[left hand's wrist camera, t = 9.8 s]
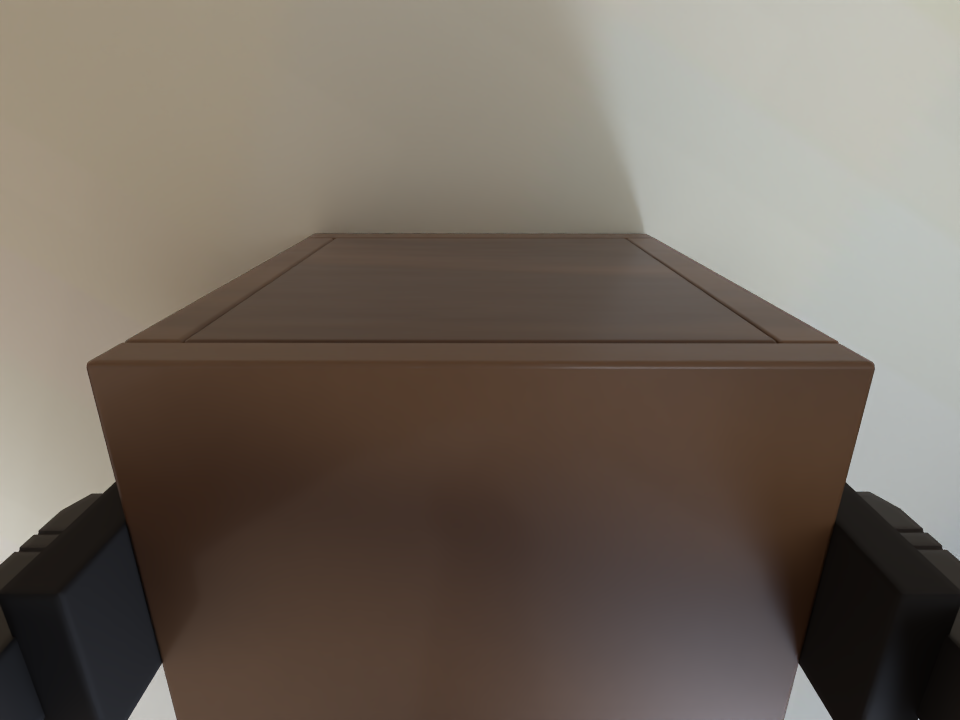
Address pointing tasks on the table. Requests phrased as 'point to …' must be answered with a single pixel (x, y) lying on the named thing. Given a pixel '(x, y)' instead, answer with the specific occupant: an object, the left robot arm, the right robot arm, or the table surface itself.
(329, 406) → the cabinet
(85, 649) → the left robot arm
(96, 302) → the table surface
